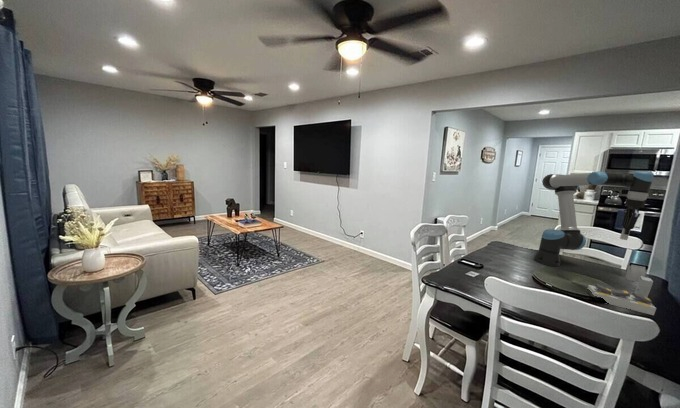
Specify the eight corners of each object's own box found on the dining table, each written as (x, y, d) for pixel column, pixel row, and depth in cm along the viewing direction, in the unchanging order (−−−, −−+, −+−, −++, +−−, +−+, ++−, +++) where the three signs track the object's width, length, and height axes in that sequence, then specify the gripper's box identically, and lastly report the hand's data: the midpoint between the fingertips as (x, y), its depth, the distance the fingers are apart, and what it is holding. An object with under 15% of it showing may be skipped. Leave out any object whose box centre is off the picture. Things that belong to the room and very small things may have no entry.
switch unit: (592, 299, 144) (595, 292, 143) (586, 291, 153) (588, 284, 153) (653, 315, 133) (656, 307, 132) (643, 305, 143) (645, 297, 142)
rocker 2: (613, 294, 142) (614, 292, 142) (611, 291, 146) (611, 288, 145) (629, 296, 139) (630, 293, 139) (626, 293, 143) (626, 290, 142)
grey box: (642, 282, 170) (647, 268, 168) (628, 280, 173) (632, 265, 171) (638, 280, 174) (643, 266, 172) (624, 277, 176) (629, 263, 174)
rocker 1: (596, 288, 145) (598, 286, 145) (594, 285, 149) (596, 283, 148) (610, 294, 143) (612, 292, 142) (607, 291, 146) (609, 288, 146)
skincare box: (632, 294, 153) (639, 275, 151) (644, 298, 150) (651, 278, 148) (634, 299, 149) (641, 278, 146) (646, 302, 146) (653, 282, 143)
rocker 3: (635, 297, 138) (637, 295, 138) (631, 294, 142) (633, 291, 141) (650, 304, 136) (652, 301, 135) (646, 300, 139) (648, 298, 139)
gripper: (651, 202, 144) (637, 244, 149) (639, 198, 155) (627, 237, 160) (632, 199, 148) (619, 240, 153) (622, 196, 159) (610, 235, 164)
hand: (623, 239), depth 156 cm, fingers closed
